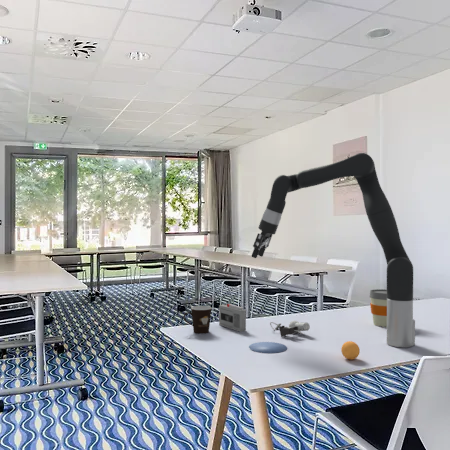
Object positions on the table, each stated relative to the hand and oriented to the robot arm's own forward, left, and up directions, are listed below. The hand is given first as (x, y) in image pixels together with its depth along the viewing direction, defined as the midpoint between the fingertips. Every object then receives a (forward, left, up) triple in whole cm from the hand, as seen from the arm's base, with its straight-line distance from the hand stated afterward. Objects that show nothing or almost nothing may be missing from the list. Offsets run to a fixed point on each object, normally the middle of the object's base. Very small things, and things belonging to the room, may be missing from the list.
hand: (257, 256), depth 194 cm
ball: (-16, +46, -28) cm, 57 cm away
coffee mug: (+24, -6, -32) cm, 40 cm away
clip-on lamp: (-10, +8, -32) cm, 35 cm away
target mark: (+6, +25, -31) cm, 41 cm away
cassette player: (+8, -8, -32) cm, 34 cm away
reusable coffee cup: (-59, +7, -32) cm, 67 cm away
